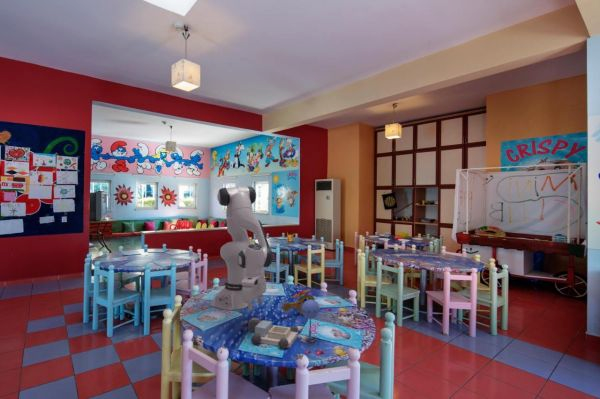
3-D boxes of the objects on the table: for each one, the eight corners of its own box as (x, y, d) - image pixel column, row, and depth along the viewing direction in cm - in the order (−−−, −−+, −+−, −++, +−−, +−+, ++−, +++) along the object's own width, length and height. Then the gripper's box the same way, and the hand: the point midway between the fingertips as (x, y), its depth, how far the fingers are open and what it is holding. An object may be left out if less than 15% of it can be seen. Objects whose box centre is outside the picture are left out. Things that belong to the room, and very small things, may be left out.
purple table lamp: (299, 334, 150) (300, 297, 150) (317, 334, 151) (318, 297, 151) (301, 342, 142) (302, 303, 141) (320, 342, 142) (321, 303, 142)
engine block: (247, 331, 152) (248, 319, 152) (251, 328, 156) (251, 316, 156) (257, 333, 151) (257, 321, 151) (260, 329, 155) (260, 318, 155)
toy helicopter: (317, 313, 178) (318, 289, 177) (286, 320, 166) (286, 295, 166) (309, 309, 184) (310, 286, 184) (278, 315, 173) (279, 291, 173)
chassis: (249, 343, 140) (250, 330, 140) (264, 329, 155) (264, 317, 155) (287, 350, 135) (288, 336, 135) (298, 334, 150) (299, 322, 150)
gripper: (258, 273, 164) (258, 299, 164) (239, 282, 144) (239, 312, 144) (269, 273, 162) (269, 300, 162) (251, 283, 142) (251, 314, 142)
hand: (255, 306), depth 153 cm, fingers open, 8 cm apart
